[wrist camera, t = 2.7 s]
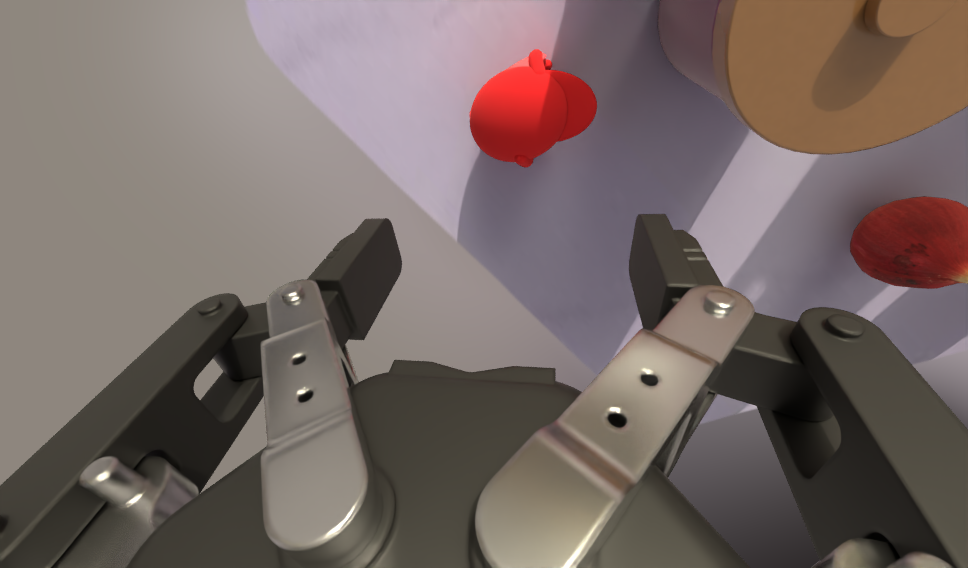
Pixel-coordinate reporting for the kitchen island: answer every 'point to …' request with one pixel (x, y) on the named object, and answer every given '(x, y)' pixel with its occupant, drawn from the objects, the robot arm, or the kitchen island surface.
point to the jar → (824, 66)
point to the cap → (530, 110)
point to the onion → (914, 243)
